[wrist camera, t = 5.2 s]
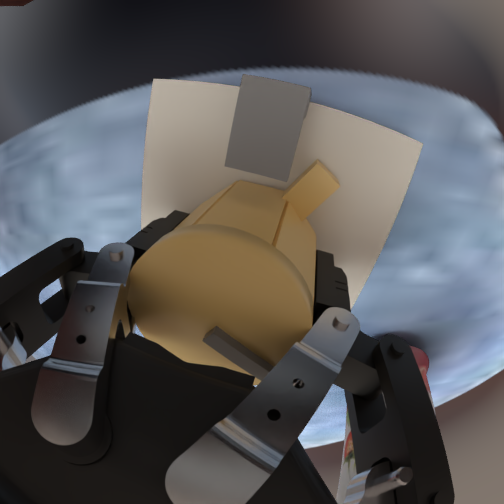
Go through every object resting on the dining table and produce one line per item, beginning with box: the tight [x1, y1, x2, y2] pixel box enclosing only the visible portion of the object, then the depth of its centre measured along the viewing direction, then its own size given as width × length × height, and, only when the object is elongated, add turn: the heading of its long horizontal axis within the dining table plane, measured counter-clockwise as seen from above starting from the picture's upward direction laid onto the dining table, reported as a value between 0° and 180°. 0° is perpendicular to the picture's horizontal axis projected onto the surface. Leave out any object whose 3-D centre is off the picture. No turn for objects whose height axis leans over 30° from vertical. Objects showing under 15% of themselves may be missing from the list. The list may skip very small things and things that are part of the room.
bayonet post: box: [141, 74, 423, 309], centre depth 11 cm, size 12×12×7 cm
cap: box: [127, 159, 340, 385], centre depth 10 cm, size 6×8×6 cm
